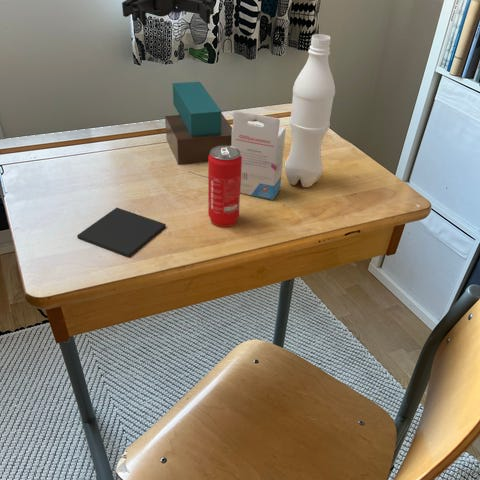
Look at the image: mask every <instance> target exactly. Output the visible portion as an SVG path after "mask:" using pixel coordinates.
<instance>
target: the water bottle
mask: <svg viewBox="0 0 480 480" xmlns="http://www.w3.org/2000/svg"><path fill="white" fill-rule="evenodd" d="M330 45H331V36H330V35H327V34H322V33H316V34H312V35H311V40H310V45H309V49H308V50H307V52H308V57H307V60H306V62H305V64H304V66H303V68H302V69H301V71H300V72H299V74H298V75H297V77H296V79H295V81H294V84H293V88H292V100H291V109H290V117H289V125H290V131H291V145H290V149H289V154H288V156H287V159H286V160H285V162H284V174H285V178H286V180H287V182H288V183H289V184H290V185H292V186H296V185H297V183H298V182H299V181H300V183H301V186H302V188H309V187H311V186H313V184H316V183H317V182H318V181H319V180H320V178H321V176H322V173H323V168H324V167H323V161H322V145H323V141H324V138H325V136H326V134H327V133H328V131H329V129H330V126H331V121H330V120H331V114H332V109H333V103H334V97H335V95H336V85H335V81H334V77H333V74H332V71H331V68H330V63H329V56H330V55H331V51H330V50H331V47H330Z"/></svg>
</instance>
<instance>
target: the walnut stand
mask: <svg viewBox="0 0 480 480" xmlns="http://www.w3.org/2000/svg"><path fill="white" fill-rule="evenodd" d="M164 119H165V120H164V123H165V137H166V142H167V144H168V147H169V148H170V150H171V152H172V154H173V156H174V158H175V161H176V162H177V164H178V165H187V164H188V165H189V164H197V163H199V164H200V163H207V162H208V157H209V155H210V151H211V149H212V148H214V147H217V146H232V128H233V126H232V125H231V124H230V123H229V121H228V120H227V118H226V117H225V116H224V114H223V113H222V114H221V134H213V135H202V136H191V135H190V133H189V131H188V129H187V128H186V126H185V124H184V122H183V120H182V119H181V117H180V115H179V114H176V115H165V116H164Z"/></svg>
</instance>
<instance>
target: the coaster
mask: <svg viewBox="0 0 480 480" xmlns="http://www.w3.org/2000/svg"><path fill="white" fill-rule="evenodd" d="M166 227H167V224H166V223H164V222H161V221H158V220H155V219H152V218H150V217H146V216H144V215H140V214H137V213H134V212H131V211H129V210H126V209H122V208H120V207H115V208H114V209H112V210H111V211H110V212H108V213H107V214H105V215H104V216H103V217H101V218H99V219H98V220H97V221H96V222H94V223H93V224H91V225H90V226H88V227H87V228H85V229H84V230H82V231H81V232H80V233H78V234H77V236H76V237H77V239H79V240H81V241H84V242H86V243H90V244H92V245H95V246H97V247H100V248H102V249H106V250H108V251H109V252H110V251H111V252H112V253H113V252H114V253H116V254H119V255H121V256H124V257H126V258H130V257H132V256H133V255H134V254H135V253H136V252H138V251H139V250H140V249H141V248H143V247H144V246H145V245H146V244H147V243H148V242H150V241H151V240H152V239H153V238H155V237H156V236H157V235H158V234H159V233H161V232H162V231H163V230H164V229H166Z"/></svg>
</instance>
